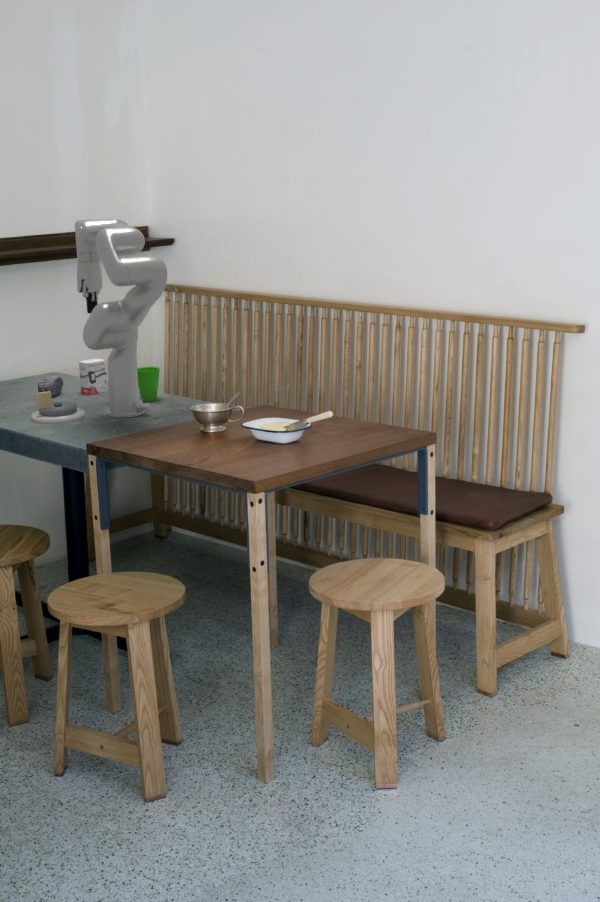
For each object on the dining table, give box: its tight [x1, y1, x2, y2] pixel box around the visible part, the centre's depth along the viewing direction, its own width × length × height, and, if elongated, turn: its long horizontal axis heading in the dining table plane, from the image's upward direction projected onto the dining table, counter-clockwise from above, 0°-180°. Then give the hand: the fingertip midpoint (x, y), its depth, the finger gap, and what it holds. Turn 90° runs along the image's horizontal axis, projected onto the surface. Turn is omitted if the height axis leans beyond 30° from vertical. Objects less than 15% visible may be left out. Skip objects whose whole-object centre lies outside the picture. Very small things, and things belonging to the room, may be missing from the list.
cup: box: [137, 365, 161, 403], centre depth 379 cm, size 9×9×11 cm
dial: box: [35, 391, 78, 416], centre depth 356 cm, size 12×12×7 cm
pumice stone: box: [37, 375, 64, 399], centre depth 391 cm, size 10×8×10 cm
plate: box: [30, 407, 86, 424], centre depth 357 cm, size 17×17×2 cm
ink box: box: [78, 357, 109, 396], centre depth 394 cm, size 8×5×12 cm, turn 134°
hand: (92, 312), depth 369 cm, fingers closed
